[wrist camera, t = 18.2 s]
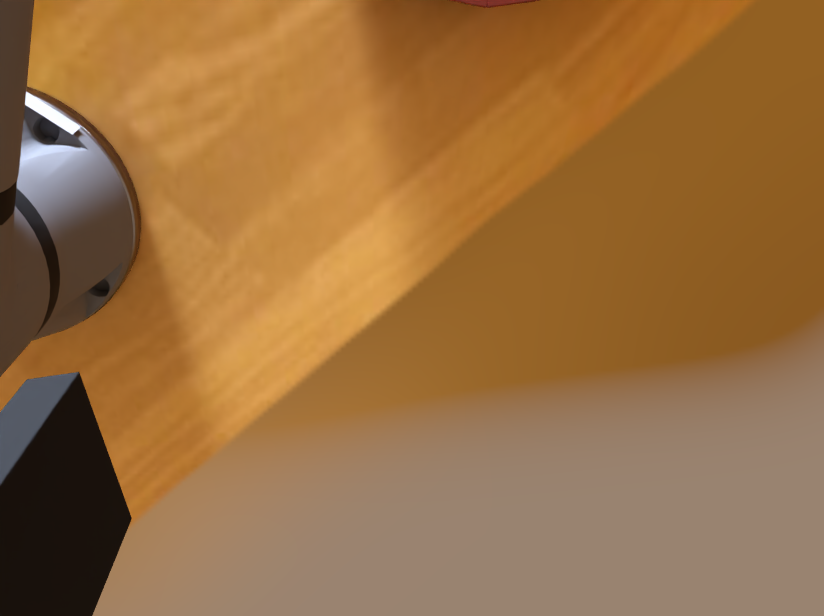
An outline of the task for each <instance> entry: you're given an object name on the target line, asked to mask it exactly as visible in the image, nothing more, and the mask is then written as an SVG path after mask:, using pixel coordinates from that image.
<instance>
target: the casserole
mask: <svg viewBox="0 0 824 616" xmlns="http://www.w3.org/2000/svg"><path fill="white" fill-rule="evenodd" d="M449 1H453V2H458V3H463V4H467V5H472V6H478V7H483V8H491V7H498V6H506V5H513V4H520V3H528V2H535V1H539V0H449Z"/></svg>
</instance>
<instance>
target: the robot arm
mask: <svg viewBox="0 0 824 616" xmlns="http://www.w3.org/2000/svg"><path fill="white" fill-rule="evenodd" d="M33 8H34V0H0V377H1V375H2V374H3V373H4V372H5V371H6V370H7V369H8V367H9V366H10V365H11V364H12V363H13V362H14V361H15V359H16V358H17V357H18V356H19V355H20V354H21V352H22V351H23V350H24V349H25V348H26V347H27V346H28V344H29V343H30V342H31V341H32V340H36V339H39V338H42V337H45V336H48V335H51V334H54V333H57V332H60V331H63V330H65V329H68V328H70V327H73V326H74V325H76V324H78V323H80V322H82V321H84V320H85V319H87V318H89V317H90V316H92V315H93V314H95V313H96V312H97V311H98V310H100V309H101V308H102V307H103V306H104V305H105V304H106V303H107V302H108V301H109V300H110V299H111V298H112V297H113V295H114V294H115V293H116V292H117V290H118V289H119V288H120V286H121V285H122V284H123V282H124V281H125V279H126V278H127V276H128V274H129V273H130V271H131V269H132V266H133V264H134V262H135V259H136V256H137V252H138V248H139V243H140V234H141V216H140V209H139V203H138V199H137V195H136V191H135V188H134V186H133V183H132V180H131V178H130V176H129V173H128V171H127V169H126V167H125V166H124V164H123V162H122V160H121V159H120V157H119V156H118V154H117V153H116V151H115V150H114V148H113V147H112V146H111V144H110V143H109V142H108V141H107V140H106V138H105V137H104V136H103V135H102V134H101V133H100V132H99V131H98V130H97V129H96V128H95V127H94V126H93V125H92V124H91V123H90V122H89V121H87V120H86V119H85V118H84V117H83V116H81V115H80V114H79V113H77V112H76V111H74V110H73V109H72V108H70V107H69V106H67V105H65V104H64V103H62V102H60V101H59V100H57V99H55V98H53V97H51V96H49V95H47V94H45V93H42V92H40V91H37V90H35V89H32V88H29V87H27V76H28V65H29V53H30V42H31V31H32V19H33ZM131 519H132V518H131V515H130V512H129V509H128V507H127V504H126V501H125V498H124V496H123V493H122V490H121V487H120V484H119V482H118V479H117V476H116V473H115V471H114V468H113V465H112V462H111V459H110V457H109V454H108V451H107V448H106V446H105V443H104V440H103V437H102V435H101V432H100V429H99V426H98V423H97V421H96V418H95V415H94V412H93V410H92V407H91V404H90V401H89V398H88V396H87V393H86V390H85V387H84V385H83V382H82V379H81V376H80V373H79V372H76V373H69V374H62V375H55V376H48V377H41V378H34V379H27V380H26V381H25V382H24V384H23V385H22V386H21V387H20V389H19V390H18V391H17V392H16V393H15V395H14V396H13V397H12V398H11V400H10V401H9V402H8V403H7V405H6V406H5V407H4V408H3V409H2V411H1V412H0V616H92V615H93V612H94V610H95V607H96V605H97V602H98V600H99V598H100V595H101V592H102V590H103V588H104V585H105V583H106V580H107V578H108V576H109V573H110V571H111V568H112V566H113V563H114V561H115V558H116V556H117V553H118V551H119V548H120V546H121V543H122V541H123V539H124V536H125V534H126V531H127V529H128V526H129V524H130V522H131Z"/></svg>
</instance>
